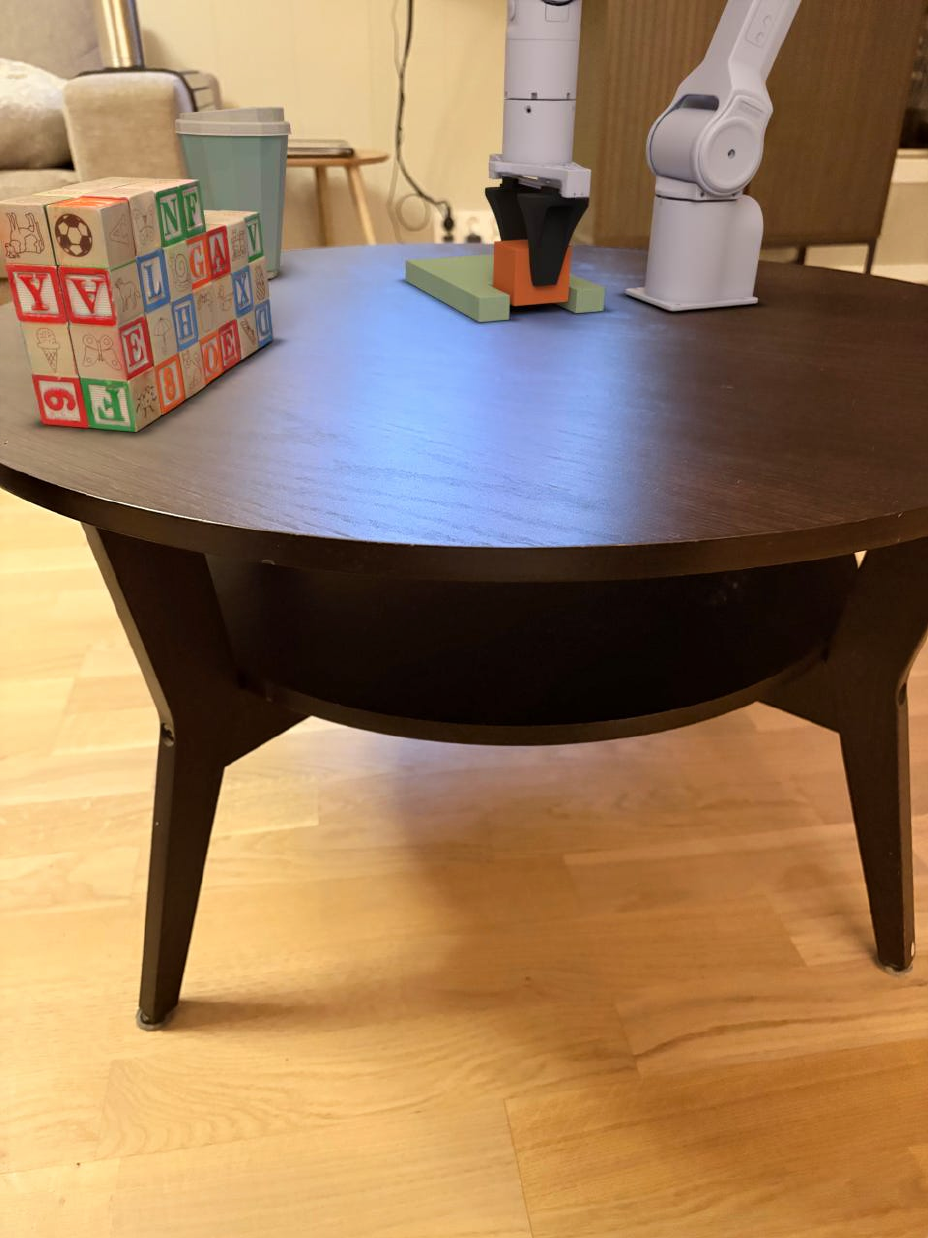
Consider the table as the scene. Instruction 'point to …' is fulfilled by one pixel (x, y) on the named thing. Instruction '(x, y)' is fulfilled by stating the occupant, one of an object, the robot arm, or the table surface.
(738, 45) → the robot arm
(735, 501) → the table surface
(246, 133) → the disposable coffee cup
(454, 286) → the base pad
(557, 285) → the orange cube
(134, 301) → the stack of blocks
